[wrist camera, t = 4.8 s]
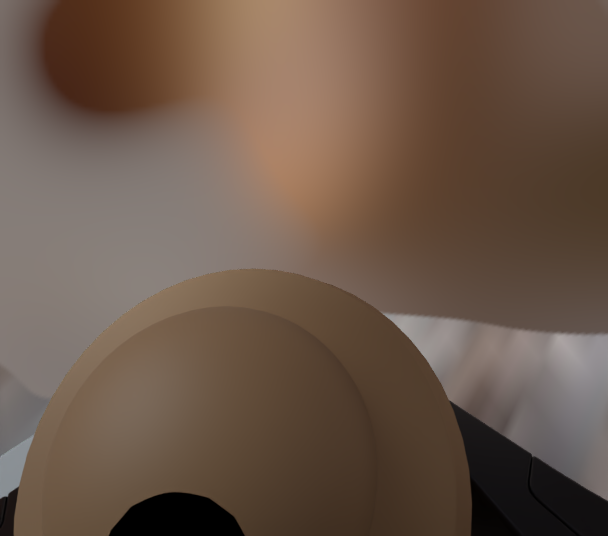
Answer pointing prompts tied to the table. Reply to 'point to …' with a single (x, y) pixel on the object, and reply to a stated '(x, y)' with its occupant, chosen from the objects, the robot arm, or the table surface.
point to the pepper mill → (248, 422)
